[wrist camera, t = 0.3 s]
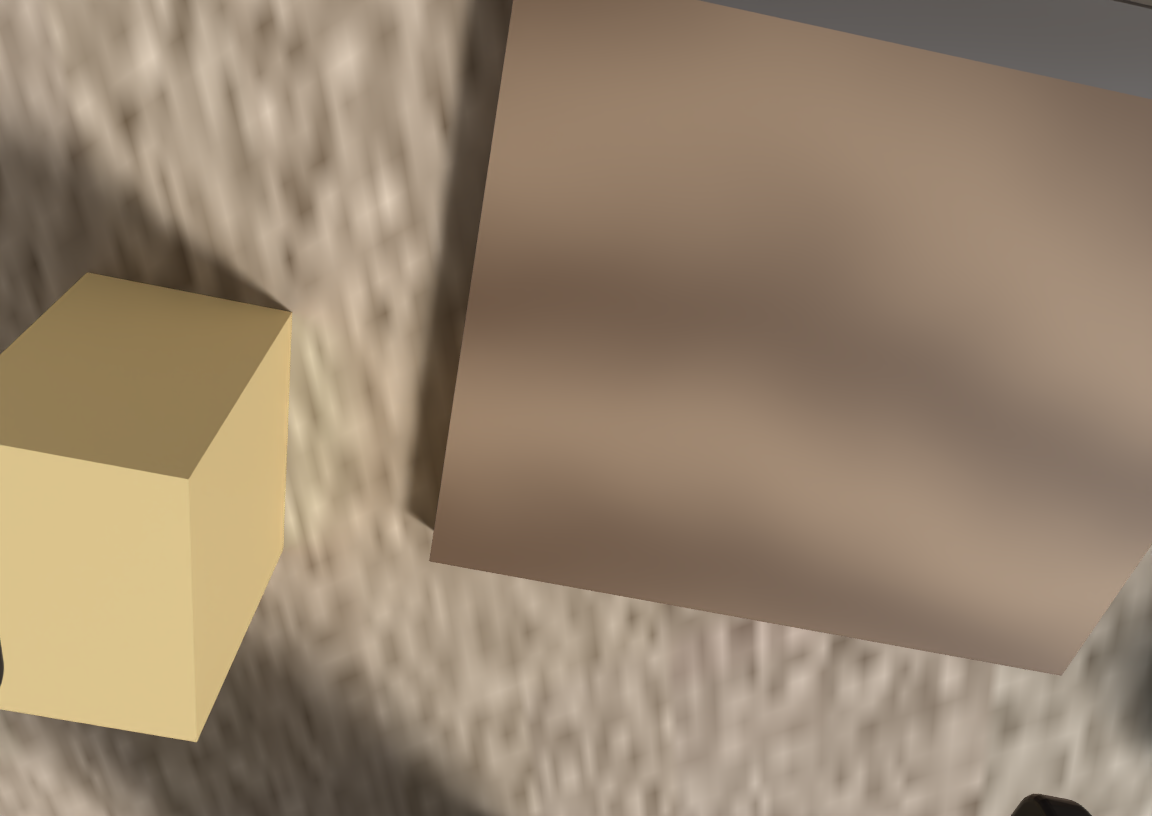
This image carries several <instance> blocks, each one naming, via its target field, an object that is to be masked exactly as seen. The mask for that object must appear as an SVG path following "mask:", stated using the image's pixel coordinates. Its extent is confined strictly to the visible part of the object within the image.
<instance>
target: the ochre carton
mask: <svg viewBox="0 0 1152 816" xmlns="http://www.w3.org/2000/svg"><path fill="white" fill-rule="evenodd" d="M291 329H292V312H288V311H283V310H278V309H273V308H268V307H263V306H257V305H252V304H247V303H242V302H237V301H232V300H227V299H221V298H216V297H211V296H206V295H201V294H196V293H191V292H185V291H180V290H175V289H170V288H165V287H160V286H155V285H149V284H144V283H139V282H134V281H129V280H124V279H119V278H113V277H108V276H103V275H98V274H93V273H88V272H87V273H86V274H85V275H84V276H83V277H82V278H81V279H80V280H79V281H78V282H76V283H75V284H74V285H73V286H72V287H71V288H70V289H69V290H68V291H67V292H66V293H65V294H64V295H63V296H62V297H61V298H60V299H59V300H57V301H56V302H55V303H54V304H53V305H52V306H51V307H50V308H49V309H48V310H47V311H46V312H45V313H44V314H43V315H42V316H41V317H39V318H38V319H37V320H36V321H35V322H34V323H33V324H32V325H31V326H30V327H29V328H28V329H27V330H26V331H25V332H24V333H23V334H21V335H20V336H19V337H18V338H17V339H16V340H15V341H14V342H13V343H12V344H11V345H10V346H9V347H8V348H7V349H6V350H5V351H3V352H2V353H1V354H0V640H1V647H2V654H3V661H4V674H3V679H2V683H1V686H0V709H2V710H8V711H14V712H20V713H26V714H32V715H38V716H43V717H49V718H55V719H61V720H67V721H73V722H79V723H85V724H91V725H97V726H103V727H109V728H115V729H121V730H127V731H133V732H139V733H145V734H151V735H157V736H163V737H169V738H175V739H181V740H187V741H192V742H197V741H198V738H199V736H200V734H201V732H202V729H203V727H204V725H205V723H206V721H207V718H208V716H209V714H210V712H211V709H212V707H213V705H214V703H215V700H216V698H217V696H218V694H219V691H220V689H221V687H222V685H223V683H224V680H225V678H226V676H227V674H228V671H229V669H230V667H231V665H232V662H233V660H234V658H235V656H236V654H237V651H238V649H239V647H240V645H241V642H242V640H243V638H244V636H245V633H246V631H247V629H248V627H249V624H250V622H251V620H252V618H253V616H254V613H255V611H256V609H257V607H258V604H259V602H260V600H261V598H262V595H263V593H264V591H265V589H266V587H267V584H268V582H269V580H270V578H271V575H272V573H273V571H274V569H275V566H276V564H277V562H278V560H279V557H280V555H281V553H282V551H283V539H284V513H285V487H286V460H287V434H288V408H289V381H290V355H291Z"/></svg>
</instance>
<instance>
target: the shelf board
mask: <svg viewBox="0 0 1152 816" xmlns="http://www.w3.org/2000/svg"><path fill="white" fill-rule="evenodd" d="M1151 545H1152V0H513V5H512V11H511V18H510V25H509V31H508V38H507V45H506V51H505V58H504V65H503V72H502V78H501V85H500V92H499V98H498V105H497V112H496V118H495V125H494V132H493V138H492V145H491V152H490V159H489V165H488V172H487V179H486V185H485V192H484V199H483V205H482V212H481V219H480V225H479V232H478V239H477V246H476V252H475V259H474V266H473V272H472V279H471V286H470V292H469V299H468V306H467V312H466V319H465V326H464V333H463V339H462V346H461V353H460V359H459V366H458V373H457V379H456V386H455V393H454V399H453V406H452V413H451V420H450V426H449V433H448V440H447V446H446V453H445V460H444V466H443V473H442V480H441V486H440V493H439V500H438V507H437V513H436V520H435V527H434V533H433V540H432V547H431V553H430V560H429V561H431V562H436V563H442V564H447V565H453V566H458V567H464V568H469V569H475V570H481V571H486V572H492V573H497V574H503V575H508V576H514V577H519V578H525V579H530V580H536V581H541V582H547V583H552V584H558V585H563V586H569V587H574V588H580V589H586V590H591V591H597V592H602V593H608V594H613V595H619V596H624V597H630V598H635V599H641V600H646V601H652V602H657V603H663V604H668V605H674V606H679V607H685V608H691V609H696V610H702V611H707V612H713V613H718V614H724V615H729V616H735V617H740V618H746V619H751V620H757V621H762V622H768V623H773V624H779V625H784V626H790V627H796V628H801V629H807V630H812V631H818V632H823V633H829V634H834V635H840V636H845V637H851V638H856V639H862V640H867V641H873V642H878V643H884V644H889V645H895V646H900V647H906V648H912V649H917V650H923V651H928V652H934V653H939V654H945V655H950V656H956V657H961V658H967V659H972V660H978V661H983V662H989V663H994V664H1000V665H1005V666H1011V667H1017V668H1022V669H1028V670H1033V671H1039V672H1044V673H1050V674H1055V675H1062V674H1063V673H1064V671H1065V670H1066V668H1067V667H1068V665H1069V664H1070V662H1071V661H1072V660H1073V658H1074V657H1075V655H1076V654H1077V652H1078V651H1079V649H1080V648H1081V646H1082V645H1083V644H1084V642H1085V641H1086V639H1087V638H1088V636H1089V635H1090V633H1091V632H1092V631H1093V629H1094V628H1095V626H1096V625H1097V623H1098V622H1099V620H1100V619H1101V617H1102V616H1103V615H1104V613H1105V612H1106V610H1107V609H1108V607H1109V606H1110V604H1111V603H1112V602H1113V600H1114V599H1115V597H1116V596H1117V594H1118V593H1119V591H1120V590H1121V588H1122V587H1123V586H1124V584H1125V583H1126V581H1127V580H1128V578H1129V577H1130V575H1131V574H1132V572H1133V571H1134V570H1135V568H1136V567H1137V565H1138V564H1139V562H1140V561H1141V559H1142V558H1143V557H1144V555H1145V554H1146V552H1147V551H1148V549H1149V548H1150V546H1151Z"/></svg>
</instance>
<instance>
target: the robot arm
mask: <svg viewBox="0 0 1152 816" xmlns="http://www.w3.org/2000/svg"><path fill="white" fill-rule="evenodd" d="M3 674H4V661H3V654H2V647H1V640H0V686H1V683H2V679H3ZM1011 816H1092V815H1091V814H1090V813H1089V812H1088V811H1087V810H1086V809H1085V808H1084V807H1082V806H1081V805H1080V804H1078V803H1076V802H1074V801H1072V800H1068V799H1064V798H1058V797H1053V796H1048V795H1042V794H1031V795H1029V796H1027V797H1025V798H1024V799H1023V800H1022V801H1021V802H1020V804H1019V805H1018V807H1017V808H1016V809H1015V811H1014V812H1013V813H1012V815H1011Z"/></svg>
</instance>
